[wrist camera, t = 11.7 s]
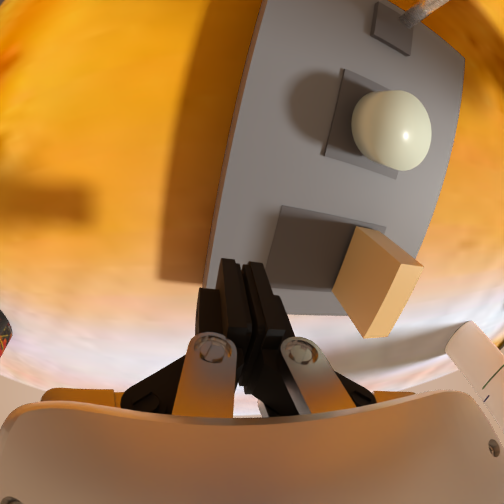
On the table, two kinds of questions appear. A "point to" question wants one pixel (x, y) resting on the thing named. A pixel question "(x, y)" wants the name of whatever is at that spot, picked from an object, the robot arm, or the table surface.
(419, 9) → the toggle lever
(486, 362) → the cylindrical container
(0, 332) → the deodorant
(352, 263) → the paddle switch
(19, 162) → the table surface
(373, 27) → the control panel
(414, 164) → the push button
